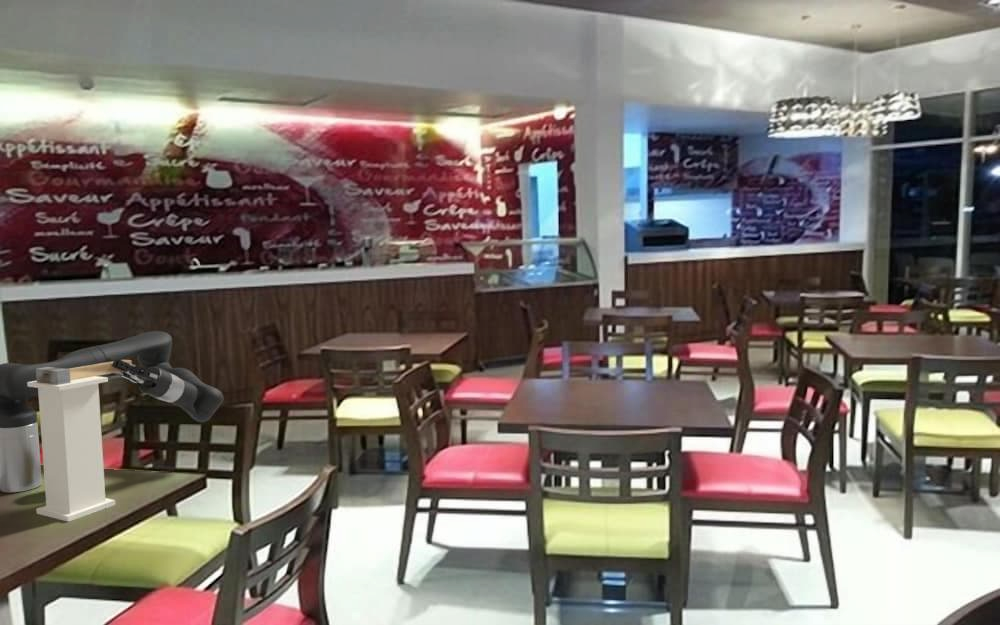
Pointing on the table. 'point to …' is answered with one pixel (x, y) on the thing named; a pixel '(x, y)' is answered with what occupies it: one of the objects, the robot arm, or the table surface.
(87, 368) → the hammer
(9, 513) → the table surface
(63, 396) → the stand
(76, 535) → the table surface
